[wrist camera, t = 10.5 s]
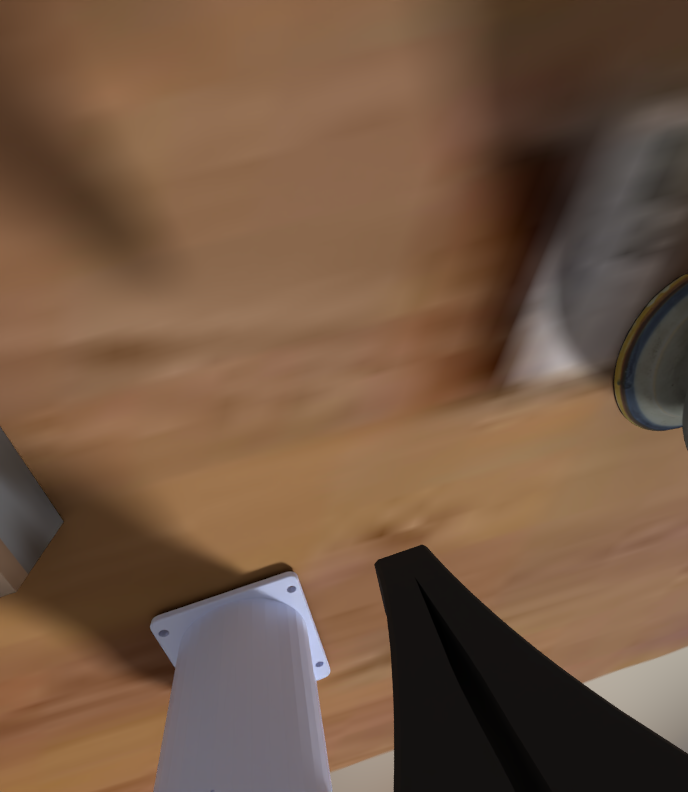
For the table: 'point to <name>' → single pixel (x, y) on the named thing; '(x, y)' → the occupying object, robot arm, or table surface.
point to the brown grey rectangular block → (21, 519)
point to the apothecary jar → (657, 363)
